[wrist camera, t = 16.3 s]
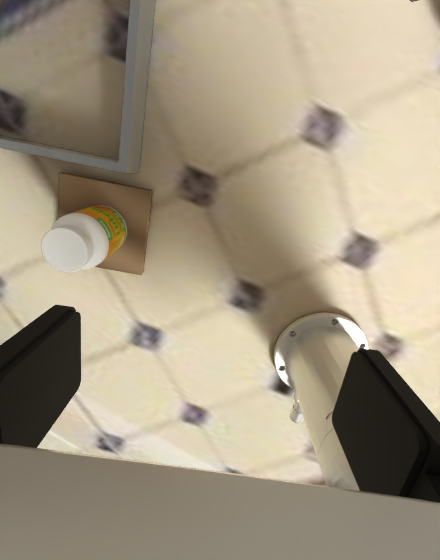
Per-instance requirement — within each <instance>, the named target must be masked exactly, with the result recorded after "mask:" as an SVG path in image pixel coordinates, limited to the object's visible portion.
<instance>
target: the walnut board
mask: <svg viewBox="0 0 440 560" xmlns="http://www.w3.org/2000/svg"><path fill="white" fill-rule="evenodd" d="M152 192H153V191H152V190H147V189H142V188H137V187H132V186H127V185H122V184H117V183H112V182H107V181H102V180H97V179H92V178H87V177H82V176H77V175H72V174H67V173H59V185H58V219H59V218H61V217H62V216H64V215H67V214H70V213H73V212H76V211H79V210H83V209H86V208H89V207H92V206H96V205H105V206H109V207H111V208H113V209H115V210H116V211H117V212H118V213H119V214H120V215H121V216H122V217H123V219H124V221H125V223H126V226H127V236H126V239H125V241H124V243H123V244H122V245H121V247H120V248H118V249H117V250H116V251H115V252H113V253H112V254H111V255H110V256H109V257H107V258H106V259H105V260H104V261H103V262H101V263H100V264H98V265H97V266H95V267H99V268H105V269H110V270H116V271H121V272H127V273H132V274H138V275H142V274H143V272H144V263H145V254H146V245H147V236H148V227H149V219H150V210H151V201H152Z"/></svg>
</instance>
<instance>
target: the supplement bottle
mask: <svg viewBox="0 0 440 560" xmlns="http://www.w3.org/2000/svg"><path fill="white" fill-rule="evenodd" d="M126 236H127V226H126V223H125V221H124V219H123V217H122V216H121V215H120V214H119V213H118V212H117V211H116V210H115V209H113V208H111V207H109V206H105V205H96V206H92V207H89V208H86V209H83V210H79V211H76V212H73V213H70V214H67V215H64V216H62V217H61V218H59V219H58V220H57V221H56V222H55V223H54V224H53V226H52V228H51V230H49V231H48V232H47V233H46V234H45V235H44V237H43V239H42V242H41V250H42V254H43V256H44V258H45V260H46V261H47V262H48V263H49V264H50V265H51V266H52V267H53V268H55V269H57V270H59V271H63V272H74V271H77V270H79V269H90V268H93V267H95V266H97V265H98V264H100V263H101V262H103V261H104V260H105V259H106V258H107V257H109V256H110V255H111V254H112V253H113V252H115V251H116V250H117V249H118V248H120V247H121V245H122V244H123V243H124V241H125V239H126Z"/></svg>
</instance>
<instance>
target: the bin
mask: <svg viewBox="0 0 440 560" xmlns="http://www.w3.org/2000/svg"><path fill="white" fill-rule="evenodd" d="M155 1H156V0H130V8H129V22H128V36H127V50H126V64H125V78H124V91H123V105H122V119H121V133H120V147H119V160H115V159H111V158H106V157H101V156H96V155H91V154H86V153H81V152H76V151H72V150H67V149H62V148H57V147H52V146H47V145H42V144H37V143H33V142H28V141H23V140H18V139H13V138H8V137H3V136H0V148H3V149H8V150H13V151H18V152H23V153H28V154H33V155H38V156H43V157H48V158H53V159H58V160H63V161H67V162H72V163H77V164H82V165H87V166H92V167H97V168H102V169H107V170H112V171H117V172H122V173H135V172H139V168H140V158H141V147H142V137H143V127H144V116H145V106H146V95H147V85H148V74H149V64H150V53H151V43H152V32H153V22H154V12H155Z"/></svg>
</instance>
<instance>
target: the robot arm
mask: <svg viewBox="0 0 440 560" xmlns="http://www.w3.org/2000/svg"><path fill="white" fill-rule="evenodd" d="M291 331H292V332H291ZM274 363H275V368H276V370H277V373H278V375H279V376H280V378H281V379H282V381H283V382H284V383H285V384H287V385H288V386H289V387H291V388H292V389H294V392H295V395H294V400H295V404H294V405H293V408H292V411H291V413H290V419H291V420H292V421H293V422H295V423H298V424H300V423H302V422H303V420H305V423H306V426H307V429H308V432H309V435H310V438H311V441H312V444H313V447H314V450H315V453H316V456H317V459H318V462H319V466H320V469H321V472H322V475H323V478H324V480H325V482H326V485H327V486H321V485H314V484H307V483H299V482H292V481H285V480H278V479H271V478H263V477H256V476H248V475H241V474H233V473H226V472H219V471H211V470H204V469H196V468H188V467H181V466H173V465H166V464H158V463H150V462H143V461H135V460H127V459H119V458H111V457H103V456H95V455H87V454H80V453H72V452H64V451H56V450H48V449H40V448H37V447H38V445H39V444H40V442H41V441H42V440H43V438H44V437H45V435H46V434H47V433H48V431H49V430H50V428H51V427H52V425H53V424H54V423H55V421H56V420H57V418H58V417H59V416H60V414H61V413H62V411H63V410H64V408H65V407H66V406H67V404H68V403H69V401H70V400H71V399H72V397H73V396H74V394H75V393H76V392H77V390H78V388H79V386H80V382H81V316H80V313H79V312H76V310H75V308H74V307H68V306H61V305H54V306H53V307H52V308H50V309H49V310H47V311H46V312H45V313H43V314H42V315H41V316H39V317H38V318H37V319H35V320H34V321H33V322H31V323H30V324H29V325H27V326H26V327H25V328H23V329H22V330H21V331H19V332H18V333H17V334H15V335H14V336H12V337H11V338H10V339H8V340H7V341H6V342H4V343H3V344H2V345H0V560H440V422H439V421H438V420H437V418H436V417H435V416H434V415H433V414H432V412H431V411H430V410H429V409H428V408H427V407H426V405H425V404H424V403H423V402H422V401H421V400H420V398H419V397H418V396H417V395H416V394H415V393H414V391H413V390H412V389H411V388H410V387H409V386H408V384H407V383H406V382H405V381H404V380H403V378H402V377H401V376H400V375H399V374H398V373H397V371H396V370H395V369H394V368H393V367H392V366H391V364H390V363H389V362H388V361H387V360H386V359H385V357H384V356H383V355H382V354H381V353H380V352H379V351H377V350H371V349H369V347H368V341H367V339H366V336H365V334H364V333H363V332H362V330H361V329H360V328H359V327H358V325H357V324H356V323H355V322H353V321H352V320H350V319H349V318H347V317H345V316H342V315H339V314H335V313H325V312H322V313H314V314H311V315H307V316H304V317H302V318H300V319H298V320H296V321H295V322H293V323H292V324H290V325H289V326H288V327H287V328H286V329H285V330H284V331H283V332H282V334H281V335H280V337H279V338H278V340H277V342H276V345H275V349H274Z"/></svg>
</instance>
